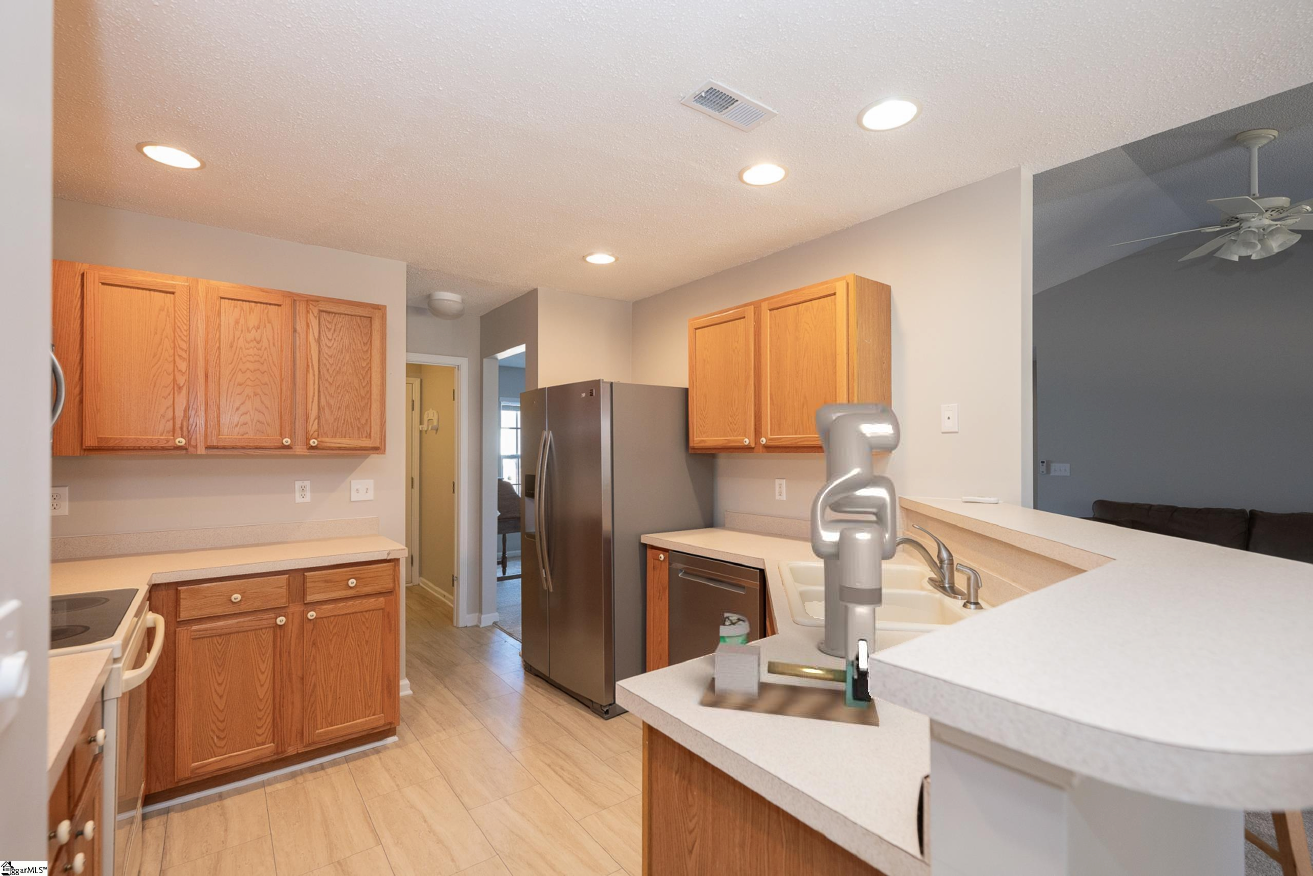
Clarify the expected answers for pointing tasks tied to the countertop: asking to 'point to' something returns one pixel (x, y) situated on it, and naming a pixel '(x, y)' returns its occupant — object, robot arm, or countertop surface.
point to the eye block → (737, 670)
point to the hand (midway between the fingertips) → (860, 695)
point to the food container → (734, 629)
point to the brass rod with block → (820, 676)
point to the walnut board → (796, 703)
